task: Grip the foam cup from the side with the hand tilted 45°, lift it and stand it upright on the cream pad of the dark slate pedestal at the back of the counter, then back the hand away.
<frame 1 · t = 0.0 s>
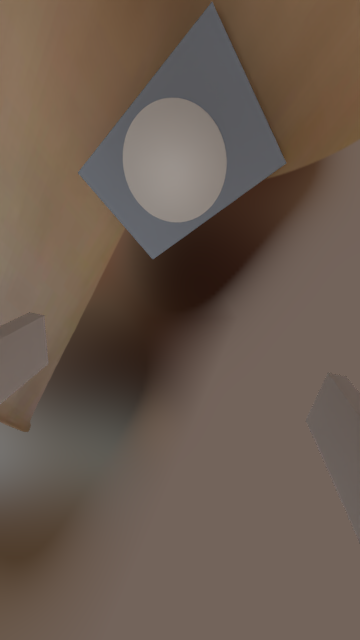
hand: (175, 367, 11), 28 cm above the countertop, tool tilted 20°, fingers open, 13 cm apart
pedestal: (178, 163, 30), on the countertop
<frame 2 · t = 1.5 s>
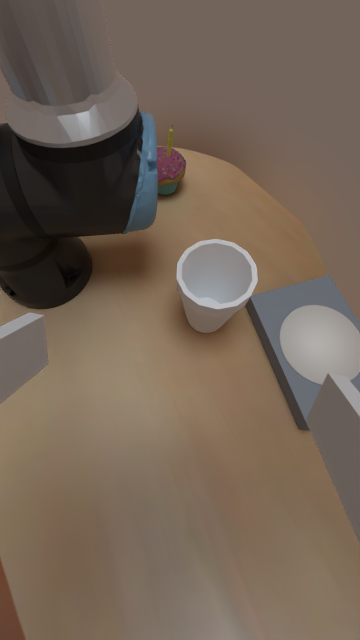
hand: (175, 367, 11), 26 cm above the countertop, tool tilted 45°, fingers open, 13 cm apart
cupcake: (164, 188, 51), on the countertop
foam cup: (205, 315, 40), on the countertop
pedestal: (310, 348, 38), on the countertop
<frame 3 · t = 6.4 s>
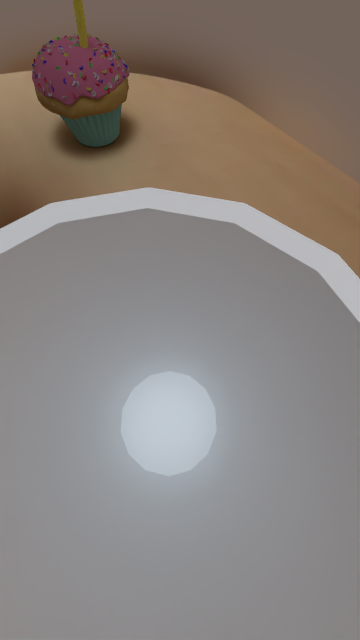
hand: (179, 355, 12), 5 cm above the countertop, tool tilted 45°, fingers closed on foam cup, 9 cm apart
cupcake: (97, 136, 27), on the countertop
foam cup: (169, 419, 16), on the countertop, touching gripper
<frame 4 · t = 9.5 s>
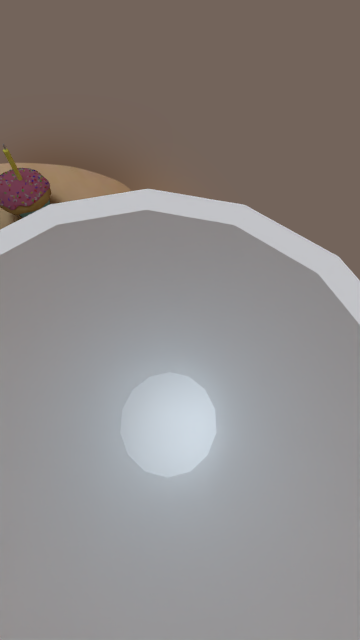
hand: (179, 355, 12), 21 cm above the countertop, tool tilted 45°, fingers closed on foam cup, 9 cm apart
cupcake: (38, 214, 43), on the countertop
foam cup: (169, 420, 16), point 16 cm above the countertop, touching gripper
when the fingers open (9 cm above the countertop, at t = 13.0 s): foam cup drops 1 cm, resting on pedestal.
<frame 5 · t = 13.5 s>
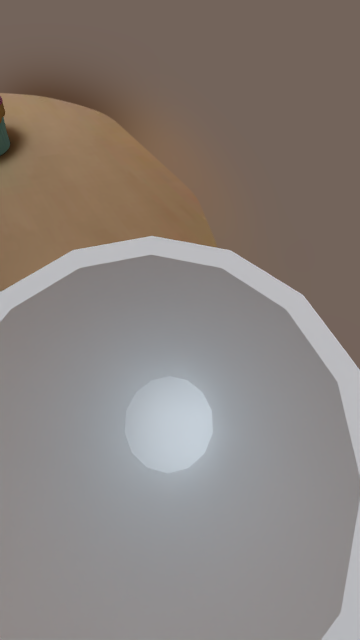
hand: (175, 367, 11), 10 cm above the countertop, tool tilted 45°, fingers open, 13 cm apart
foam cup: (169, 421, 17), point 3 cm above the countertop, touching pedestal
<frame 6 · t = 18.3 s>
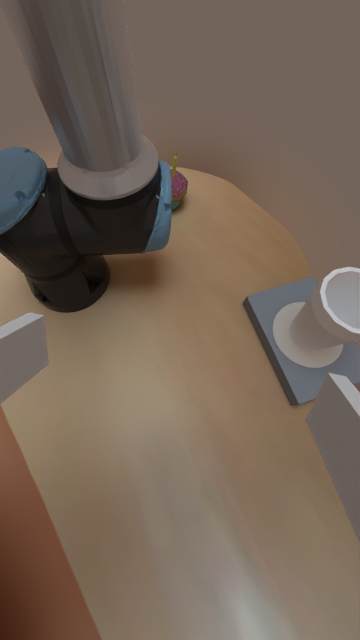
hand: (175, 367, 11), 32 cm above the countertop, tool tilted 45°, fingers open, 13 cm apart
cupcake: (169, 203, 58), on the countertop
foam cup: (307, 334, 42), point 3 cm above the countertop, touching pedestal
pedestal: (299, 338, 45), on the countertop
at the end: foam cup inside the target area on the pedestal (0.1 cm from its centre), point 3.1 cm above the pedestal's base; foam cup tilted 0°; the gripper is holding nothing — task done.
